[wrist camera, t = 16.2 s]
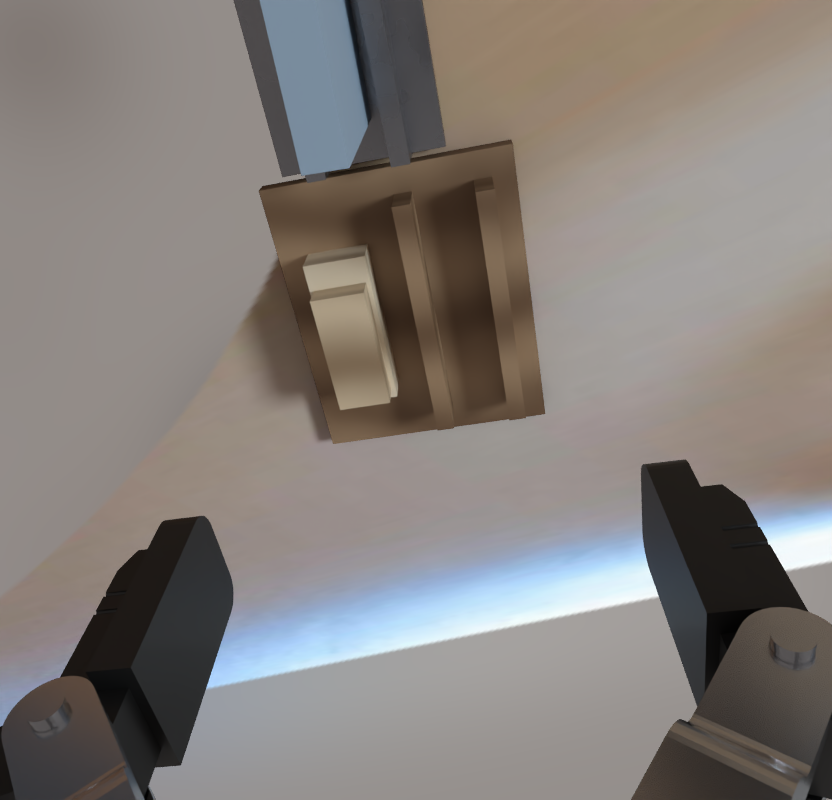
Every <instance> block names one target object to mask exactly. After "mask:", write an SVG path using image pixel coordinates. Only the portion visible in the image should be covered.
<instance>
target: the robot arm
mask: <svg viewBox="0 0 832 800" xmlns="http://www.w3.org/2000/svg"><path fill="white" fill-rule="evenodd" d="M641 492H642V530H643V542H644V548H645V554H646V558H647V563H648V566H649V569H650V572H651V575H652V578H653V581H654V584H655V586H656V589H657V592H658V595H659V598H660V601H661V604H662V606H663V609H664V612H665V615H666V618H667V621H668V624H669V627H670V629H671V632H672V635H673V638H674V641H675V644H676V647H677V650H678V652H679V655H680V658H681V661H682V664H683V667H684V670H685V673H686V675H687V678H688V681H689V684H690V687H691V690H692V693H693V695H694V698H695V701H696V704H697V709H696V711H695V712H694V714H693V716H692V718H691V719H690V720H689V721H688V722H686V721H684V720H681V719H679V720H677V721H676V722H675V723H674V724H673V726H672V727H671V728H670V730H669V731H668V733H667V735H666V736H665V738H664V740H663V742H662V744H661V746H660V747H659V749H658V751H657V753H656V755H655V757H654V758H653V760H652V762H651V764H650V766H649V768H648V769H647V771H646V773H645V775H644V777H643V779H642V780H641V782H640V784H639V786H638V788H637V790H636V791H635V793H634V795H633V797H632V799H631V800H826V798H829V799H832V625H831V624H830V623H829V622H827V621H826V620H824V619H822V618H821V617H819V616H817V615H815V614H812V613H810V612H808V610H807V609H806V607H805V605H804V603H803V602H802V600H801V598H800V596H799V595H798V593H797V591H796V589H795V588H794V586H793V584H792V582H791V581H790V579H789V577H788V575H787V574H786V572H785V570H784V568H783V567H782V565H781V563H780V561H779V560H778V558H777V556H776V554H775V553H774V551H773V549H772V547H771V546H770V545H768V542H767V539H766V537H765V535H764V533H763V532H762V530H761V528H760V527H758V525H757V521H756V520H755V518H754V516H753V514H752V513H751V511H750V509H749V507H748V506H747V504H746V502H745V501H744V500H742V499H741V498H740V497H738V496H737V495H736V494H734V493H733V492H732V491H730V490H729V489H728V488H726V487H725V486H724V485H722V484H721V485H712V486H703V487H700V485H699V483H698V481H697V479H696V477H695V475H694V473H693V471H692V469H691V467H690V465H689V463H688V462H687V460H677V461H668V462H660V463H651V464H643V465H642V468H641ZM232 606H233V584H232V579H231V576H230V573H229V570H228V568H227V565H226V563H225V560H224V557H223V555H222V552H221V549H220V547H219V544H218V542H217V539H216V536H215V534H214V531H213V529H212V526H211V524H210V522H209V520H208V519H207V518H206V517H205V516H198V517H189V518H181V519H172V520H165V521H163V522H162V523H161V524H160V526H159V528H158V530H157V532H156V534H155V536H154V538H153V540H152V541H151V543H150V545H149V547H148V549H146V550H138V551H137V552H136V553H135V554H134V555H133V556H132V557H131V558H130V559H129V560H128V561H127V562H126V563H125V564H124V565H123V566H122V567H121V568H120V569H119V570H118V571H117V573H116V575H115V576H114V578H113V580H112V582H111V584H110V586H109V588H108V589H107V591H106V597H103V599H102V601H101V602H100V604H99V606H98V608H97V610H96V612H97V614H96V615H93V617H92V619H91V621H90V623H89V625H88V627H87V628H86V630H85V632H84V634H83V636H82V638H81V640H80V641H79V643H78V645H77V647H76V649H75V651H74V653H73V654H72V656H71V658H70V660H69V662H68V664H67V666H66V667H65V669H64V671H63V673H62V675H61V677H60V678H57V679H54V680H51V681H49V682H46V683H44V684H42V685H40V686H39V687H37V688H36V689H34V690H32V691H31V692H30V693H28V694H27V695H26V696H25V697H23V698H22V699H21V700H20V701H19V702H18V703H17V704H16V705H15V707H14V708H13V709H12V710H11V712H10V713H9V714H8V716H7V718H6V720H5V722H4V724H3V726H1V727H0V800H156V799H155V796H154V794H153V792H152V790H151V789H150V787H149V782H150V779H151V777H152V774H153V771H154V768H155V767H167V766H178V765H181V763H182V760H183V757H184V754H185V751H186V748H187V745H188V742H189V739H190V736H191V733H192V730H193V727H194V723H195V720H196V717H197V714H198V711H199V708H200V705H201V702H202V699H203V696H204V693H205V690H206V687H207V684H208V681H209V678H210V675H211V672H212V669H213V666H214V662H215V659H216V656H217V653H218V650H219V647H220V644H221V641H222V638H223V635H224V632H225V629H226V626H227V623H228V620H229V617H230V614H231V610H232Z"/></svg>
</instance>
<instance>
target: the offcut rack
mask: <svg viewBox="0 0 832 800" xmlns="http://www.w3.org/2000/svg"><path fill="white" fill-rule="evenodd" d="M259 193H260V197H261V200H262V203H263V207H264V210H265V214H266V217H267V221H268V224H269V227H270V231H271V234H272V238H273V241H274V244H275V248H276V251H277V255H278V258H279V261H280V265H281V268H282V272H283V275H284V278H285V282H286V285H287V289H288V292H289V295H290V299H291V302H292V306H293V309H294V312H295V316H296V319H297V323H298V326H299V329H300V333H301V336H302V339H303V343H304V346H305V350H306V353H307V356H308V360H309V363H310V367H311V370H312V373H313V377H314V380H315V384H316V387H317V390H318V394H319V397H320V401H321V404H322V407H323V411H324V414H325V418H326V421H327V424H328V428H329V431H330V435H331V438H332V441H333V444H337V443H344V442H351V441H358V440H365V439H372V438H379V437H386V436H393V435H400V434H407V433H414V432H421V431H428V430H435V429H438V430H444V429H451V428H454V427H456V426H463V425H471V424H478V423H485V422H492V421H499V420H506V419H509V420H515V419H522V418H526V417H527V416H534V415H541V414H545V408H544V400H543V392H542V383H541V375H540V367H539V358H538V350H537V342H536V333H535V325H534V317H533V309H532V300H531V292H530V284H529V275H528V267H527V259H526V250H525V242H524V234H523V225H522V217H521V209H520V201H519V192H518V184H517V176H516V167H515V159H514V151H513V143H512V141H511V140H507V141H501V142H496V143H491V144H485V145H480V146H475V147H469V148H464V149H459V150H453V151H448V152H443V153H437V154H432V155H427V156H421V157H416V158H411V164H408V165H402V166H397V167H392V168H391V165H390V162H389V163H384V164H379V165H373V166H368V167H363V168H357V169H352V170H347V171H341V172H336V173H331V174H329V175H328V177H327V179H326V180H322V181H316V182H311V183H307V180H306V178H304V179H299V180H293V181H288V182H282V183H277V184H272V185H266V186H262V188H261V189H260V190H259ZM365 244H368V248H369V252H370V256H371V261H372V265H373V270H374V274H375V278H376V283H377V287H378V291H379V296H380V300H381V304H382V309H383V313H384V317H385V322H386V326H387V331H388V335H389V339H390V344H391V348H392V352H393V357H394V361H395V365H396V370H397V374H398V378H399V384H398V394H397V397H391V399H390V403H385V404H378V405H372V406H365V407H358V408H351V409H345V410H340V407H339V404H338V400H337V397H336V393H335V390H334V386H333V383H332V379H331V375H330V372H329V368H328V365H327V361H326V358H325V354H324V350H323V347H322V343H321V340H320V336H319V333H318V329H317V326H316V322H315V318H314V315H313V311H312V308H311V304H310V300H311V295H310V292H309V288H308V284H307V281H306V277H305V274H304V270H303V265H304V263H305V260H306V258H307V256H308V254H313V253H319V252H324V251H330V250H336V249H342V248H347V247H353V246H359V245H365Z"/></svg>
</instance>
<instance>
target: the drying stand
mask: <svg viewBox="0 0 832 800" xmlns="http://www.w3.org/2000/svg"><path fill="white" fill-rule="evenodd" d="M349 1H350V7H351V12H352V18H353V23H354V28H355V34H356V39H357V45H358V50H359V55H360V61H361V66H362V72H363V77H364V82H365V88H366V93H367V99H368V104H369V109H370V115H371V120H370V123H369V125H368V127H367V129H366V132H365V134H364V136H363V139H362V141H361V143H360V145H359V148H358V150H357V152H356V155H355V157H354V159H353V161H352V164H355V163H360V162H365V161H371V160H376V159H381V158H387V157H389V160H390V165H391V168H392V167H397V166H402V165H408V164H411V158H412V153H413V152H419V151H424V150H429V149H434V148H440V147H445V146H446V142H445V136H444V130H443V124H442V118H441V111H440V105H439V99H438V93H437V87H436V81H435V75H434V69H433V63H432V57H431V50H430V44H429V38H428V32H427V26H426V20H425V14H424V8H423V2H422V0H349ZM234 3H235V7H236V10H237V14H238V17H239V21H240V25H241V28H242V32H243V36H244V39H245V43H246V47H247V50H248V54H249V58H250V61H251V65H252V68H253V72H254V75H255V79H256V83H257V87H258V90H259V94H260V97H261V101H262V105H263V108H264V112H265V115H266V119H267V123H268V126H269V130H270V133H271V137H272V140H273V145H274V148H275V152H276V155H277V159H278V162H279V166H280V170H281V174H282V177H286V176H291V175H296V174H301V172H300V168H299V164H298V159H297V155H296V151H295V147H294V143H293V138H292V134H291V130H290V126H289V122H288V117H287V113H286V109H285V105H284V101H283V96H282V92H281V88H280V84H279V80H278V75H277V71H276V67H275V63H274V59H273V54H272V50H271V46H270V42H269V38H268V34H267V29H266V25H265V21H264V17H263V13H262V8H261V4H260V0H234ZM329 173H330V171H328V172H322V173H315V174H309V175H305V177H306V180H307V183H311V182H316V181H322V180H326V179H327V177H328V175H329Z"/></svg>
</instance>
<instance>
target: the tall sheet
mask: <svg viewBox="0 0 832 800" xmlns="http://www.w3.org/2000/svg"><path fill="white" fill-rule="evenodd" d="M260 4H261V8H262V13H263V17H264V21H265V25H266V29H267V34H268V38H269V42H270V46H271V50H272V54H273V59H274V63H275V67H276V71H277V75H278V80H279V84H280V88H281V92H282V96H283V101H284V105H285V109H286V113H287V117H288V122H289V126H290V130H291V134H292V138H293V143H294V147H295V151H296V155H297V159H298V164H299V168H300V172H301V176H303V175H309V174H315V173H322V172H328V171H334V170H340V169H346V168H350V166H351V164H352V161H353V159H354V157H355V155H356V152H357V150H358V148H359V145H360V143H361V141H362V139H363V136H364V134H365V132H366V129H367V127H368V125H369V123H370V120H371V115H370V109H369V104H368V99H367V93H366V88H365V82H364V77H363V72H362V66H361V61H360V55H359V50H358V45H357V39H356V34H355V28H354V23H353V18H352V12H351V7H350V1H349V0H260Z"/></svg>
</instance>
